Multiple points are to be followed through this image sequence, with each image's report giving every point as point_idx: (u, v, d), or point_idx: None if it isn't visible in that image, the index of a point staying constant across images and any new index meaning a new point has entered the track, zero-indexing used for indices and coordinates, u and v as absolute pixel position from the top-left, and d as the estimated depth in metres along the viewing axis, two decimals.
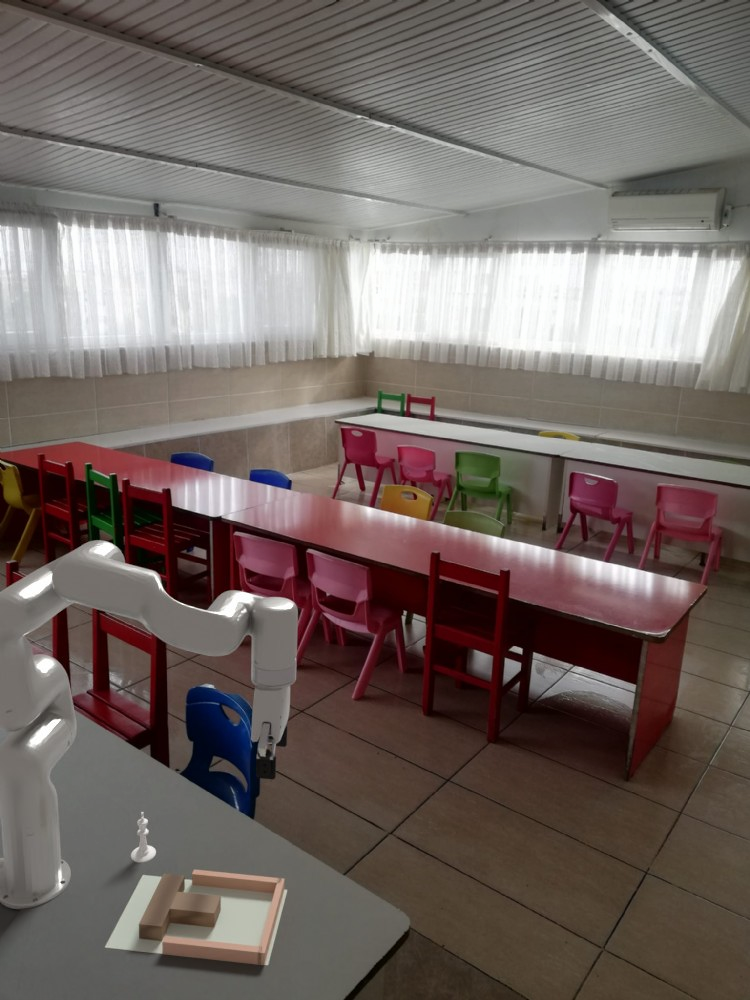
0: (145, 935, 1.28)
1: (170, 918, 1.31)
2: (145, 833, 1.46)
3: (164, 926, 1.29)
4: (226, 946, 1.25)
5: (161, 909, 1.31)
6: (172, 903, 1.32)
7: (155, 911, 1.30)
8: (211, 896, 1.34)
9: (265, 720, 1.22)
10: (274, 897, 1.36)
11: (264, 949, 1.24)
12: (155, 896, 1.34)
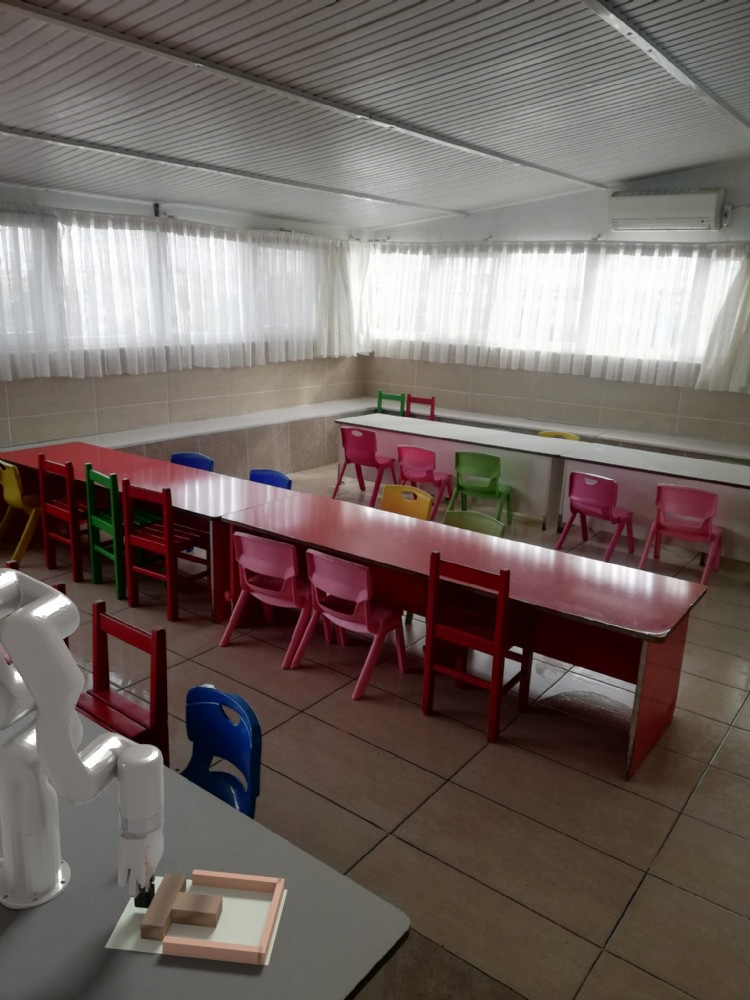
0: (147, 935, 1.28)
1: (172, 918, 1.31)
2: None
3: (166, 926, 1.29)
4: (226, 946, 1.25)
5: (162, 909, 1.31)
6: (173, 903, 1.32)
7: (157, 911, 1.30)
8: (213, 896, 1.34)
9: (130, 867, 1.26)
10: (274, 897, 1.36)
11: (264, 949, 1.24)
12: (157, 896, 1.34)
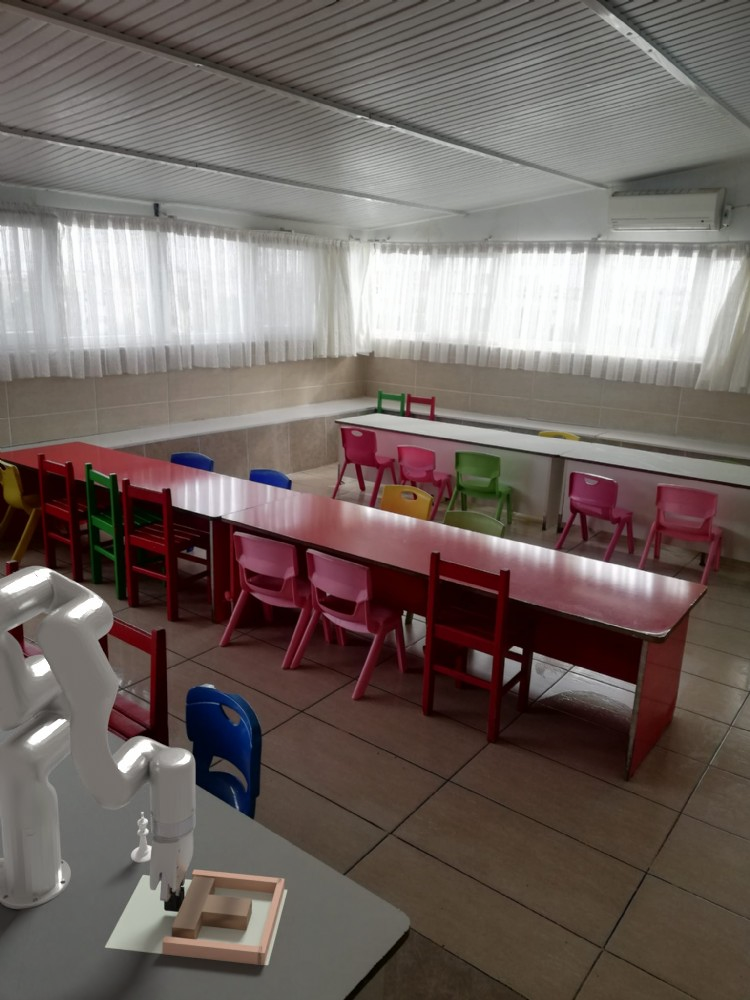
0: None
1: (202, 921, 1.31)
2: (145, 833, 1.46)
3: (197, 929, 1.28)
4: (226, 946, 1.25)
5: (193, 912, 1.31)
6: (203, 906, 1.32)
7: (188, 914, 1.30)
8: (242, 899, 1.34)
9: (162, 870, 1.26)
10: (274, 897, 1.36)
11: (264, 949, 1.24)
12: (186, 899, 1.33)
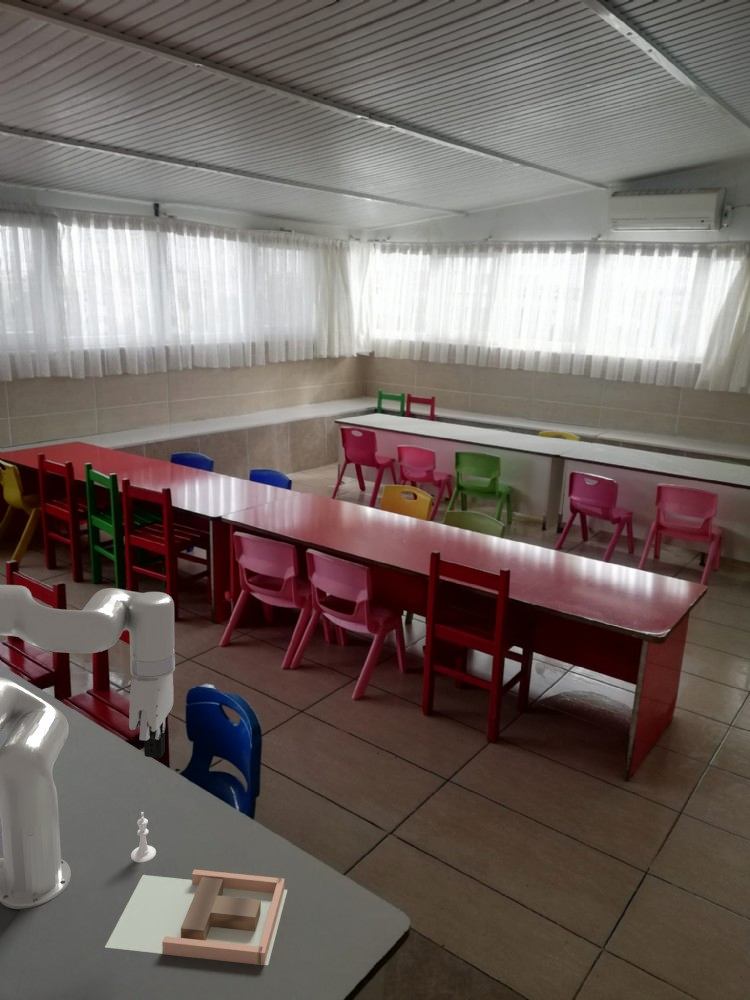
0: None
1: (211, 922, 1.31)
2: (145, 833, 1.46)
3: (206, 930, 1.28)
4: (226, 946, 1.25)
5: (202, 913, 1.30)
6: (212, 907, 1.32)
7: (196, 915, 1.30)
8: (251, 900, 1.34)
9: (141, 709, 1.28)
10: (274, 897, 1.36)
11: (264, 949, 1.24)
12: (195, 900, 1.33)
